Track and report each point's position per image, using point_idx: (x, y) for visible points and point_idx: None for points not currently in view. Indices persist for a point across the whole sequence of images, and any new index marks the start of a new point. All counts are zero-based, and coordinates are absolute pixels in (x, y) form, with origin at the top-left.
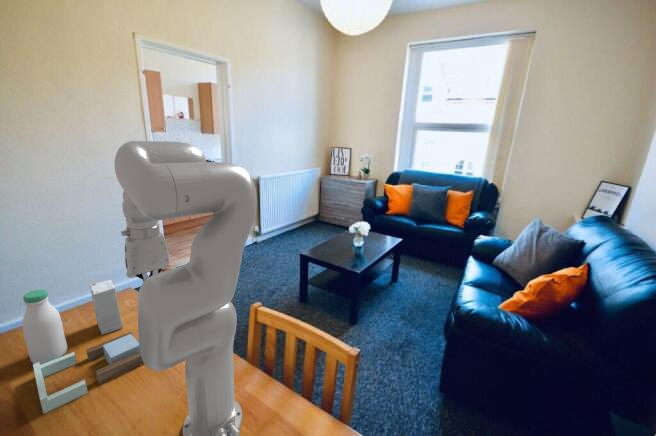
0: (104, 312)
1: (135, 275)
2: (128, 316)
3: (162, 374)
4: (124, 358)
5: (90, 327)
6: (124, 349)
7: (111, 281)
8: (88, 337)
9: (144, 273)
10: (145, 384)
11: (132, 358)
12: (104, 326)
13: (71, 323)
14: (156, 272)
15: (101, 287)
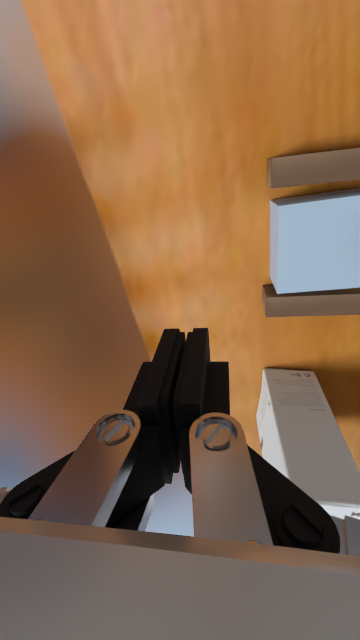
0: (317, 423)
1: (353, 550)
2: (235, 404)
3: (251, 36)
4: (338, 179)
5: None
6: (329, 213)
7: None
8: (340, 382)
9: (232, 528)
10: (317, 16)
11: (319, 157)
12: (310, 386)
13: None
14: (77, 474)
15: None
